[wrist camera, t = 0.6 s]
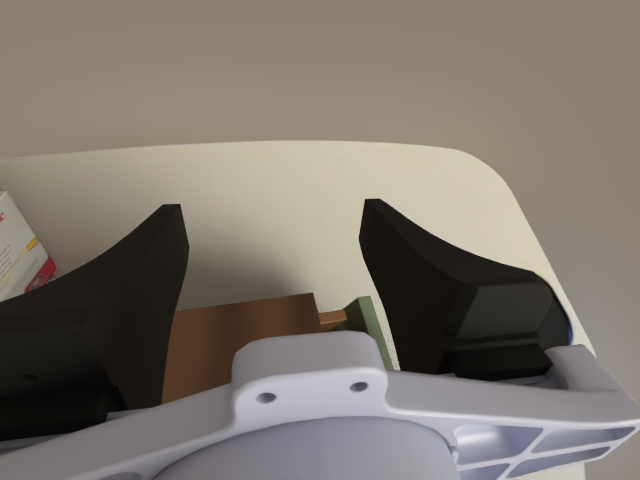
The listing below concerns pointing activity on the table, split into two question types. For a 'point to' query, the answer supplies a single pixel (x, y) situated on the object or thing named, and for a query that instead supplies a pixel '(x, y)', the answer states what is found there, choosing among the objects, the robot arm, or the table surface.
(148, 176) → the table surface
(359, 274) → the table surface
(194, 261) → the table surface
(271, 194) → the table surface
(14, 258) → the ink box
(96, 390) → the robot arm
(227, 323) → the cabinet
